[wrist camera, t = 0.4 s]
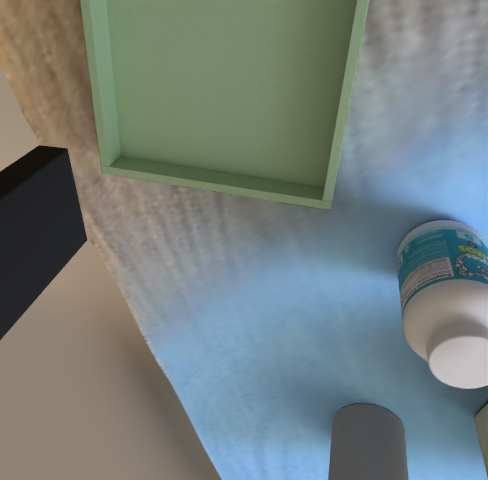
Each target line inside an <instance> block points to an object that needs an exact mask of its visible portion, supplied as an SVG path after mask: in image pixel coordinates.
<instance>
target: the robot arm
mask: <svg viewBox="0 0 488 480" xmlns="http://www.w3.org/2000/svg"><path fill="white" fill-rule="evenodd" d="M86 241H87V236H86V232H85V227H84V222H83V218H82V213H81V209H80V204H79V200H78V195H77V190H76V186H75V181H74V177H73V172H72V168H71V163H70V158H69V154H68V149H67V148H58V147H49V146H40V145H39V146H38V147H36V148H35V149H33V150H32V151H30V152H29V153H27V154H26V155H24V156H23V157H21V158H20V159H18V160H17V161H16V162H14V163H12V164H11V165H9V166H8V167H6V168H5V169H3V170H2V171H1V172H0V340H1V339H2V337H3V336H4V335H5V334H6V333H7V332H8V331H9V329H10V328H11V327H12V326H13V325H14V324H15V323H16V321H17V320H18V319H19V318H20V317H21V316H22V314H23V313H24V312H25V311H26V310H27V309H28V308H29V306H30V305H31V304H32V303H33V302H34V301H35V300H36V298H37V297H38V296H39V295H40V294H41V293H42V291H43V290H44V289H45V288H46V287H47V286H48V285H49V283H50V282H51V281H52V280H53V279H54V278H55V277H56V275H57V274H58V273H59V272H60V271H61V270H62V268H63V267H64V266H65V265H66V264H67V263H68V262H69V260H70V259H71V258H72V257H73V256H74V255H75V253H76V252H77V251H78V250H79V249H80V248H81V247H82V245H83V244H84V243H85V242H86Z"/></svg>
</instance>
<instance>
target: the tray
mask: <svg viewBox="0 0 488 480" xmlns="http://www.w3.org/2000/svg"><path fill="white" fill-rule="evenodd" d="M369 1H370V0H80V4H81V12H82V20H83V28H84V36H85V44H86V52H87V60H88V68H89V76H90V84H91V92H92V100H93V108H94V116H95V124H96V132H97V140H98V148H99V156H100V164H101V171H102V174H109V175H115V176H121V177H127V178H133V179H140V180H146V181H152V182H158V183H164V184H171V185H177V186H183V187H189V188H195V189H202V190H208V191H214V192H220V193H226V194H232V195H239V196H245V197H251V198H257V199H263V200H270V201H276V202H282V203H288V204H294V205H301V206H307V207H313V208H319V209H325V210H330V209H331V204H332V199H333V193H334V188H335V183H336V177H337V172H338V167H339V161H340V156H341V150H342V145H343V140H344V134H345V129H346V124H347V118H348V113H349V108H350V102H351V97H352V92H353V86H354V81H355V76H356V70H357V65H358V59H359V54H360V49H361V43H362V38H363V33H364V27H365V22H366V17H367V11H368V6H369Z"/></svg>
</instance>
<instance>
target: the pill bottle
mask: <svg viewBox="0 0 488 480" xmlns="http://www.w3.org/2000/svg"><path fill="white" fill-rule="evenodd" d="M397 269H398V279H399V289H400V300H401V311H402V323H403V331H404V335H405V338H406V340H407V342H408V344H409V345H410V347H411V348H412V349H413V350H414V351H415V352H416V354H418V355H419V356H420V357H421V358H423V359H424V360H426V361H428V365H429V368H430V370H431V372H432V373H433V375H434V376H435V377H436V378H437V379H438V380H440V381H441V382H443V383H445V384H447V385H450V386H452V387H457V388H464V389H472V388H480V387H484V386H487V385H488V248H487V245H486V243H485V241H484V239H483V238H482V237H481V235H480V234H479V233H478V232H477V231H476V230H474V229H473V228H471V227H470V226H468V225H466V224H464V223H461V222H457V221H452V220H437V221H431V222H428V223H425V224H422V225H420V226H418V227H416V228H415V229H413V230H412V231H411V232H409V233H408V234H407V235H406V236H405V238H404V239H403V240H402V242H401V244H400V246H399V249H398V252H397Z"/></svg>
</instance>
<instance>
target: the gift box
mask: <svg viewBox="0 0 488 480" xmlns="http://www.w3.org/2000/svg"><path fill="white" fill-rule="evenodd" d="M474 420H475V424H476V429H477V433H478V438H479V442H480V446H481V451H482V455H483V459H484V464H485V468H486V473H487V477H488V403H487V404H486V405H485V406H484V407H483V408H482V409H481V410H480V411H479V413H478V414H477V415H476V416H475V417H474Z"/></svg>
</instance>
